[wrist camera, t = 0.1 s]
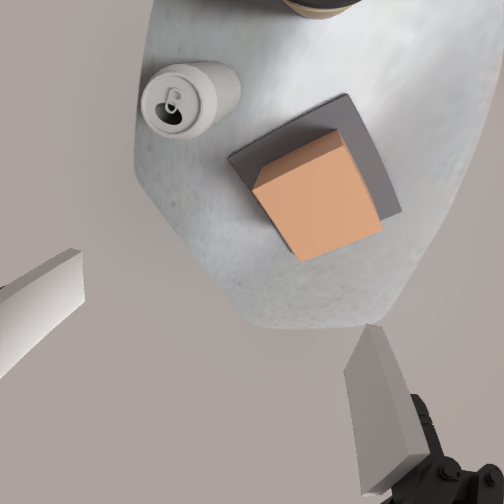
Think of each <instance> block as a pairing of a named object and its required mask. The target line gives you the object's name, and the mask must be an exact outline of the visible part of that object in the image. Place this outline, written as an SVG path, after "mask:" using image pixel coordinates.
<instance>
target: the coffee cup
mask: <svg viewBox="0 0 504 504" xmlns="http://www.w3.org/2000/svg"><path fill="white" fill-rule="evenodd" d="M283 1H284V2H285V3H286V4H287V5H288V6H290V7H291V8H292V9H294V10H295V11H296V12H297V13H299V14H300V15H302V16H305V17H307V18H311V19H317V20H322V19H328V18H331V17H334V16H336V15H338V14H340V13H342V12H344V11H345V10H346V9H348V8H349V7H351V6H352V5H354V4H356V3H357V2H359V1H361V0H283Z"/></svg>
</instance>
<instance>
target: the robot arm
mask: <svg viewBox="0 0 504 504" xmlns="http://www.w3.org/2000/svg"><path fill="white" fill-rule="evenodd" d="M84 301H85V297H84V284H83V264H82V251H78V250H75V249H73V248H70V249H68V250H66V251H64V252H62V253H60V254H59V255H57V256H55V257H53V258H52V259H50V260H48V261H46V262H45V263H43V264H41V265H39V266H38V267H36V268H34V269H33V270H31V271H29V272H28V273H26V274H24V275H23V276H21V277H19V278H18V279H16V280H14V281H13V282H11V283H10V284H8V285H6V286H3V287H1V288H0V379H1V378H2V377H3V376H4V375H5V374H6V373H7V372H8V371H9V370H10V369H11V368H12V367H13V366H14V365H15V364H16V363H17V362H18V361H19V360H20V359H21V358H22V357H23V356H24V355H25V354H26V353H27V352H28V351H29V350H31V349H32V348H33V347H34V346H35V345H36V344H37V343H38V342H39V341H40V340H41V339H43V338H44V337H45V336H46V335H47V334H48V333H49V332H50V331H51V330H52V329H54V328H55V327H56V326H57V325H58V324H59V323H60V322H61V321H63V320H64V319H65V318H66V317H67V316H68V315H69V314H71V313H72V312H73V311H74V310H75V309H76V308H78V307H79V306H80V305H81V304H82V303H84ZM344 376H345V381H346V387H347V393H348V398H349V404H350V411H351V417H352V423H353V430H354V437H355V444H356V452H357V459H358V468H359V476H360V485H361V496H373V495H382V494H383V493H385V492H386V491H387V490H389V489H390V488H391V489H392V496H391V497H389V498H388V499H386V500H385V501H384V502H382V503H381V504H503V500H504V477H503V474H502V472H501V470H500V469H499V468H498V467H497V466H495V465H493V464H486V465H484V466H483V467H482V468H481V469H480V470H478V471H477V472H472V471H465V470H461V467H460V465H459V464H458V462H456V461H455V460H454V459H453V458H450V457H447V456H444V454H443V451H442V448H441V445H440V442H439V439H438V436H437V434H436V431H435V428H434V425H432V420H431V418H430V417H429V413H428V410H427V407H426V405H425V403H424V402H423V401H422V400H421V398H420V397H419V396H418V395H417V394H410V393H409V390H408V388H407V385H406V383H405V380H404V377H403V375H402V372H401V370H400V368H399V365H398V363H397V360H396V358H395V355H394V353H393V351H392V349H391V346H390V344H389V341H388V339H387V337H386V335H385V332H384V330H383V328H382V327H381V326H376V325H371V324H366V326H365V328H364V331H363V333H362V335H361V337H360V339H359V341H358V343H357V346H356V347H355V350H354V352H353V354H352V356H351V358H350V360H349V362H348V364H347V366H346V368H345V369H344Z"/></svg>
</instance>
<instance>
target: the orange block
mask: <svg viewBox="0 0 504 504" xmlns="http://www.w3.org/2000/svg"><path fill="white" fill-rule="evenodd" d="M252 192H253V193H254V194H255V196H256V197H257V199H258V200H259V202H260V203H261V205H262V206H263V207H264V209H265V210H266V212H267V213H268V215H269V216H270V218H271V219H272V221H273V222H274V224H275V225H276V227H277V228H278V230H279V231H280V233H281V234H282V236H283V237H284V239H285V240H286V242H287V243H288V245H289V246H290V248H291V249H292V251H293V252H294V254H295V255H296V257H297V258H298V260H299V261H300V262H303V261H305V260H308V259H310V258H313V257H316V256H318V255H321V254H323V253H326V252H329V251H331V250H334V249H336V248H339V247H341V246H344V245H347V244H349V243H352V242H354V241H357V240H359V239H362V238H364V237H367V236H369V235H372V234H374V233H377V232H379V231H382V230H383V228H382V225H381V222H380V219H379V216H378V213H377V210H376V207H375V205H374V202H373V199H372V197H371V195H370V193H369V191H368V188H367V186H366V184H365V182H364V180H363V178H362V176H361V173H360V171H359V169H358V167H357V165H356V163H355V161H354V159H353V157H352V155H351V153H350V151H349V149H348V148H347V146H346V144H345V142H344V140H343V138H342V136H341V134H340V133H339V131H338V129H337V130H335V131H333V132H331V133H329V134H326V135H324V136H322V137H320V138H318V139H316V140H314V141H312V142H310V143H308V144H306V145H304V146H302V147H300V148H298V149H296V150H294V151H292V152H290V153H288V154H286V155H284V156H283V157H281V158H279V159H277V160H275V161H273V162H271V163H269V164H267V165H265V166H264V167H262V169H261V171H260V173H259V176H258V178H257V180H256V182H255V185H254V187H253V189H252Z"/></svg>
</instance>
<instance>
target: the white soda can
mask: <svg viewBox="0 0 504 504" xmlns="http://www.w3.org/2000/svg"><path fill="white" fill-rule="evenodd" d="M240 97H241V85H240V81H239V78H238V76H237V75H236V73H235V72H234V71H233V70H232V69H231V68H230V67H228V66H227V65H225V64H222V63H219V62H193V63H182V64H173V65H170V66H167V67H165V68H162V69H161V70H159V71H158V72H157V73H156V74H154V75H153V76H152V78H151V79H150V81H149V82H148V84H147V85H146V87H145V89H144V91H143V94H142V98H141V112H142V115H143V118H144V121H145V122H146V123H147V125H148V126H149V128H150V129H151V130H153V131H154V132H155V133H156V134H158V135H161V136H163V137H166V138H169V139H172V140H187V139H191V138H195V137H196V136H198V135H200V134H201V133H203V132H204V131H206V130H207V129H208V128H210V127H211V126H213V125H214V124H215V123H217V122H218V121H220V120H221V119H222V118H224V117H225V116H227V115H228V114H230V113H231V112H232V111H233V110H234V108H235V107H236V106H237V104H238V102H239V100H240Z"/></svg>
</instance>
